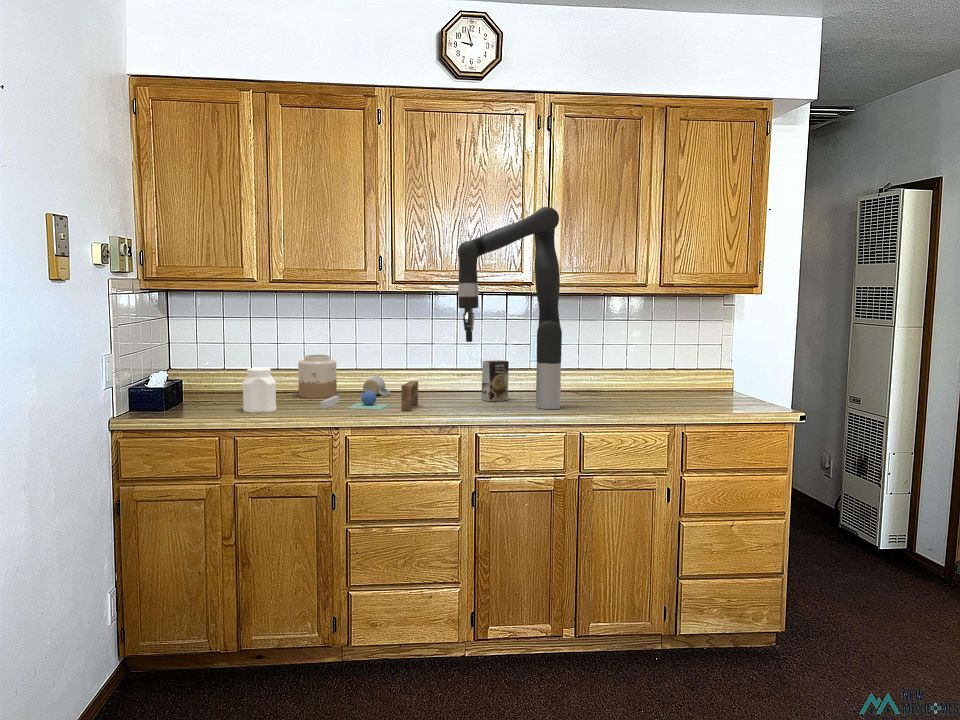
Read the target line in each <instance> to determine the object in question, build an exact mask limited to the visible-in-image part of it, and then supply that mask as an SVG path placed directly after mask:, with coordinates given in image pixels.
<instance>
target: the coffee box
mask: <svg viewBox="0 0 960 720" xmlns="http://www.w3.org/2000/svg"><path fill="white" fill-rule="evenodd" d="M509 363H510V362H509V360H496V359H495V360H482V367H481V368H482V369H481V401H484V400H486V401H485V402H487V401H497V402H500V401H499V400H509V367H510V366H509Z"/></svg>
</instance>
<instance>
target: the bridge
mask: <svg viewBox="0 0 960 720" xmlns="http://www.w3.org/2000/svg"><path fill="white" fill-rule="evenodd" d="M400 398H401V403H400V404H401V405H400V406H401V409H400V410H401V412H411V410H412V408H411V407H417V406H419V380H410V381H408V382H406V383H403V384H401V397H400Z"/></svg>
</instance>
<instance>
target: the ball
mask: <svg viewBox="0 0 960 720" xmlns="http://www.w3.org/2000/svg"><path fill="white" fill-rule="evenodd" d="M376 401H377V395H375V393H374V392H372V391H366V392H364V391H363V393H362V395H361V403H364V404H365V405H373V404H376Z"/></svg>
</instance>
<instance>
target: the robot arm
mask: <svg viewBox="0 0 960 720" xmlns="http://www.w3.org/2000/svg"><path fill="white" fill-rule="evenodd" d="M559 222H560V216H559V213H558V211H557V210H556V209H555V208H553V207H550V206H543V207H541V208H539V209H537V210H536V211H535V212H534V213H532V214H531V215H529V216H527V217H525V218H523V219H521V220H518V221H516V222H514V223H511V224H508V225H505V226H502V227H498V228H497V229H494V230H491V231H489V232H487V233H484V234H482V235H481V236H478V237H476V238H473V239H470V240H466V241H463V242H461V244H460V245H458V247H457V248H458V249H457V255H458V264H459V268H458V290H457V291H458V292H457V295H458V297H457V299H458V309H463V310H464V313H462V321H463V327H464V331H465V341H466V343H472V342H473V331H474V326H475V316H476V315H475V313H474V311H473V310H474V309H478V308H479V303H480V302H479V286H478V284H479V283H478V269H477V268H478V258H479V257H481V256H483V255H485V254H488V253H491V252H495V251H497V250H500V249H502V248H504V247H507V246H509V245H511V244H513V243H515V242H517V241H519V240H521V239H524V238H526V237H529V236H532V235H533V236H534V244H535V253H534V284H535V292H536V297H537V303H538V325H537V331H536V377H535V378H536V379H535V380H536V383H535V384H536V385H535V407H536V408H537V409H544V410H558V409H559V410H560V409H561V393H562V392H561V386H562V384H561V383H562V380H561V376H562V375H561V374H562V345H563V344H562V337H563V336H562V335H563V330H562V326H561V321H560V314H559V301H560V287H561V286H560V285H561V283H560V282H561V280H560V279H561V278H560V276H561V275H560V266H559V260H558V255H557V251H556V246H555V233H556V232H555V231H556V228H557V226H558V224H559Z"/></svg>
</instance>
